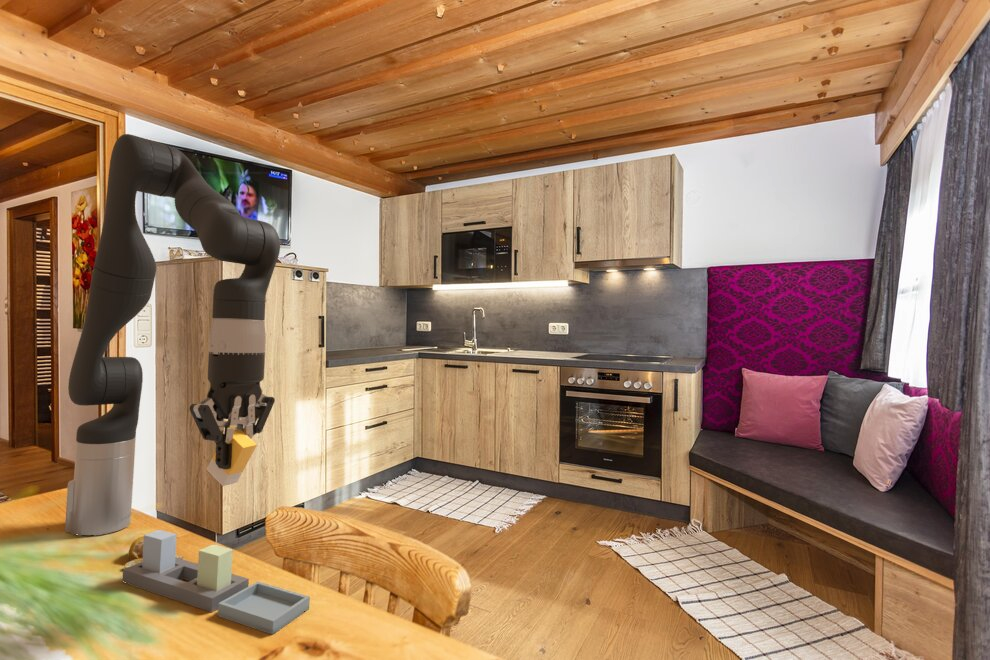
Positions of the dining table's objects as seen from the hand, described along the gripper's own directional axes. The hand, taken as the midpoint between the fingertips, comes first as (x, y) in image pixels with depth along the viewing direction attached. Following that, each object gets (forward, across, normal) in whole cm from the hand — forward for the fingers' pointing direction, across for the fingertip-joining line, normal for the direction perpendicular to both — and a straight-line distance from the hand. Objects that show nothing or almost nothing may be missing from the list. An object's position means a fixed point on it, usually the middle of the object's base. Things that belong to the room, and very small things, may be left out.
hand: (232, 465), depth 75 cm
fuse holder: (+20, 0, -9) cm, 22 cm away
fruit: (+20, -4, -22) cm, 30 cm away
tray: (+20, -1, +7) cm, 21 cm away
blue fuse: (+20, 0, -15) cm, 25 cm away
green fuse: (+20, 0, -3) cm, 20 cm away
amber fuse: (+2, 0, -2) cm, 3 cm away
